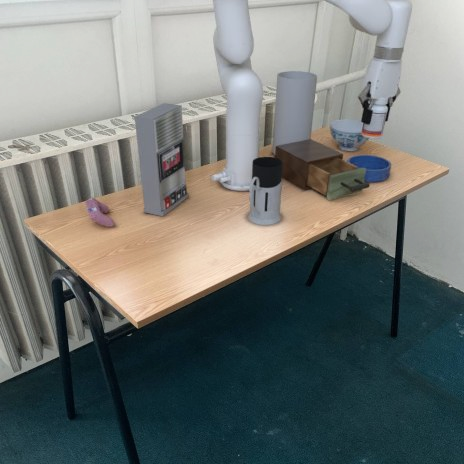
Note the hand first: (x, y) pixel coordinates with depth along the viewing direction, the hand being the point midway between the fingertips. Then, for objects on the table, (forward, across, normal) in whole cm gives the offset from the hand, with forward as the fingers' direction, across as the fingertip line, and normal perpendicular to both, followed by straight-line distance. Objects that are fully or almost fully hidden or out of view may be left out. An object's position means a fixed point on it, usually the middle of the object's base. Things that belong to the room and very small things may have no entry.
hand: (374, 121), depth 143 cm
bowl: (+17, -1, 0) cm, 17 cm away
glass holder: (+18, +46, +10) cm, 50 cm away
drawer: (+16, +17, +6) cm, 24 cm away
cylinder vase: (+17, +9, -27) cm, 33 cm away
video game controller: (+19, +82, -11) cm, 84 cm away
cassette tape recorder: (+18, +63, -11) cm, 66 cm away
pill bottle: (+5, 0, 0) cm, 5 cm away
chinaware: (+17, -13, -22) cm, 31 cm away
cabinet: (+17, +17, -8) cm, 25 cm away
